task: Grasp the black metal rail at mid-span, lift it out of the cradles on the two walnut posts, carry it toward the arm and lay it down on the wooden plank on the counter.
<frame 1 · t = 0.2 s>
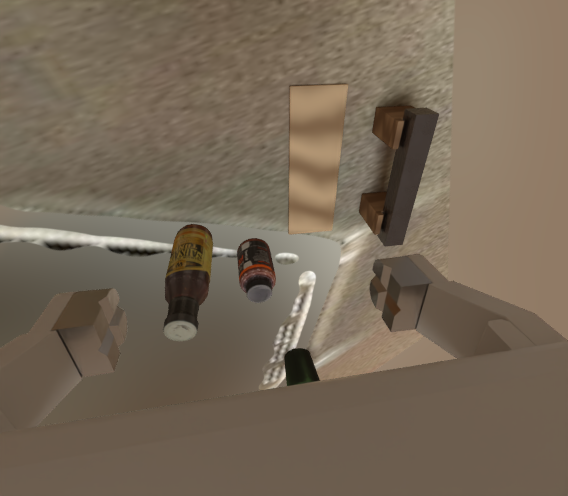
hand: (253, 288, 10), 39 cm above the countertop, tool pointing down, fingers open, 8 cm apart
supplement bottle: (253, 249, 58), on the countertop
post b: (375, 201, 56), on the countertop
sauce bottle: (193, 236, 55), on the countertop
post a: (391, 119, 48), on the countertop
rail: (398, 179, 47), point 6 cm above the countertop, touching post a, post b
wooden plank: (313, 168, 50), on the countertop
potion bottle: (296, 354, 81), on the countertop
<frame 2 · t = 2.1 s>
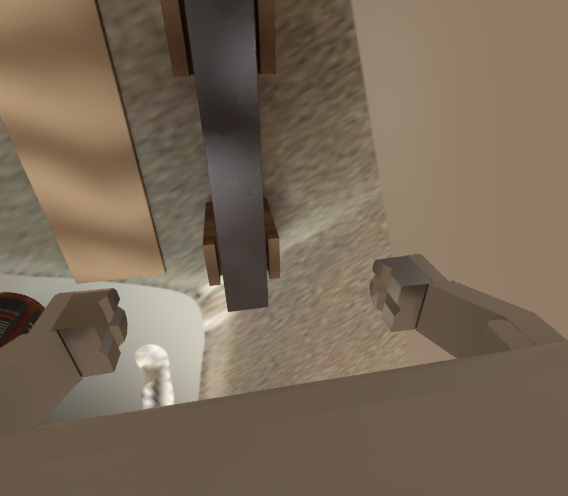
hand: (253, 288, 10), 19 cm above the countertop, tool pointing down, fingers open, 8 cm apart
supplement bottle: (17, 311, 31), on the countertop
post b: (238, 219, 30), on the countertop
post a: (220, 38, 22), on the countertop
rail: (234, 164, 21), point 6 cm above the countertop, touching post a, post b
wooden plank: (78, 150, 24), on the countertop
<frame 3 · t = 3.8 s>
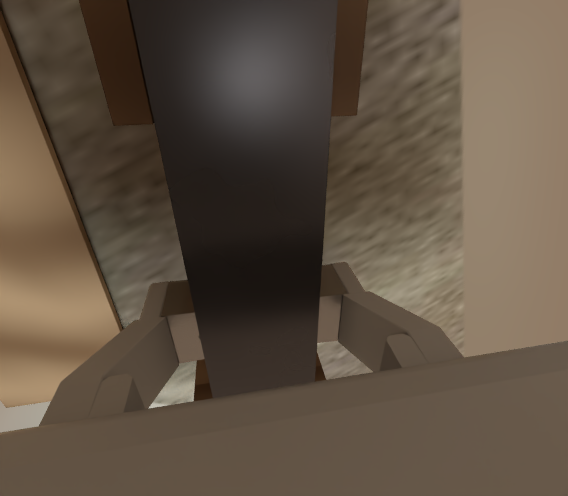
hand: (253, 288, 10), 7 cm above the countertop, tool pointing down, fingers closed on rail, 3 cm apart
post b: (251, 311, 20), on the countertop
post a: (227, 38, 12), on the countertop
rail: (252, 276, 11), point 6 cm above the countertop, touching gripper, post a, post b
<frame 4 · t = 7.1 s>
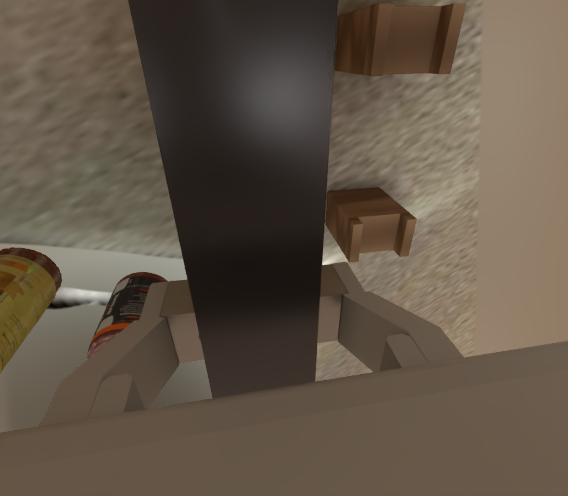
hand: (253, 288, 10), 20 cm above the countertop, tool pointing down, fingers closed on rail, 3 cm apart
supplement bottle: (146, 291, 34), on the countertop
post b: (352, 206, 33), on the countertop
sauce bottle: (27, 270, 30), on the countertop
post a: (369, 43, 25), on the countertop
rail: (252, 278, 11), point 20 cm above the countertop, touching gripper
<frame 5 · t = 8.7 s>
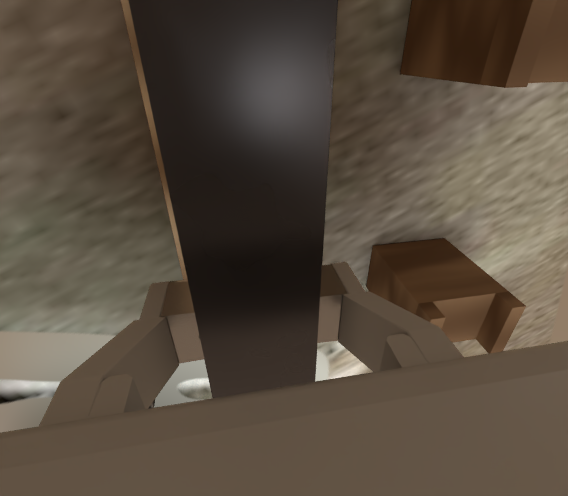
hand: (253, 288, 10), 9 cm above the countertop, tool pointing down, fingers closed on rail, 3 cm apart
post b: (404, 263, 23), on the countertop
post a: (457, 31, 16), on the countertop
rail: (252, 278, 11), point 9 cm above the countertop, touching gripper
wooden plank: (237, 182, 18), on the countertop
when the fingers open (3 cm above the countertop, at t = 10.3 s): rail drops 2 cm, resting on wooden plank.
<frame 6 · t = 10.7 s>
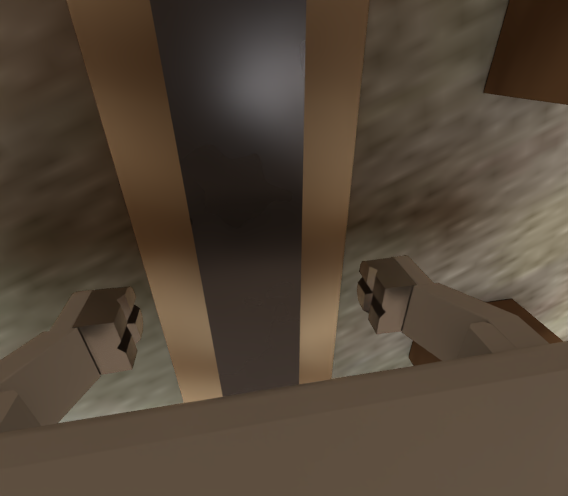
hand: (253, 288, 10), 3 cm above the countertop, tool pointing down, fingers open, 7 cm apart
post b: (458, 329, 18), on the countertop
rail: (247, 247, 13), resting on wooden plank
wooden plank: (247, 242, 13), on the countertop
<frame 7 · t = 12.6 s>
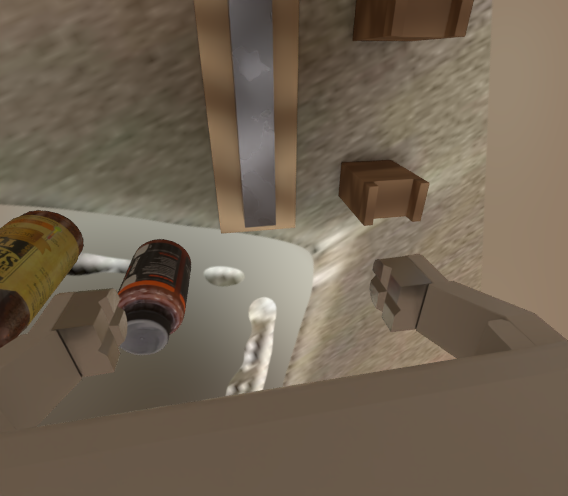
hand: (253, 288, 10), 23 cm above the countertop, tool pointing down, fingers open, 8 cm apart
supplement bottle: (163, 259, 35), on the countertop
post b: (364, 178, 34), on the countertop
sauce bottle: (50, 235, 31), on the countertop
post a: (385, 15, 27), on the countertop
rail: (252, 110, 28), resting on wooden plank
wooden plank: (252, 109, 28), on the countertop
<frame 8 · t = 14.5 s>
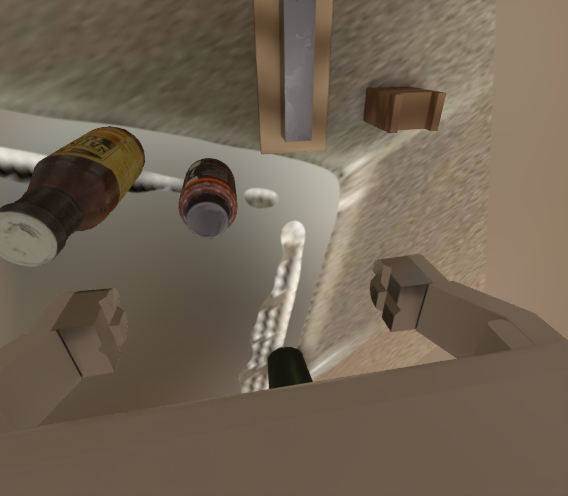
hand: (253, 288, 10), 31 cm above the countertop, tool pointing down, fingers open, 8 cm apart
supplement bottle: (210, 180, 40), on the countertop
post b: (386, 104, 38), on the countertop
sauce bottle: (116, 152, 36), on the countertop
rail: (293, 35, 33), resting on wooden plank
wooden plank: (293, 35, 33), on the countertop
potion bottle: (284, 357, 59), on the countertop
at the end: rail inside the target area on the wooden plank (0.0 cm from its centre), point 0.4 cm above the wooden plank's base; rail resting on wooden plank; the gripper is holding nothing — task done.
